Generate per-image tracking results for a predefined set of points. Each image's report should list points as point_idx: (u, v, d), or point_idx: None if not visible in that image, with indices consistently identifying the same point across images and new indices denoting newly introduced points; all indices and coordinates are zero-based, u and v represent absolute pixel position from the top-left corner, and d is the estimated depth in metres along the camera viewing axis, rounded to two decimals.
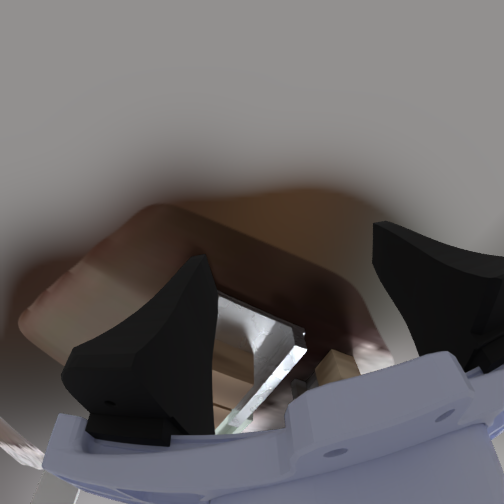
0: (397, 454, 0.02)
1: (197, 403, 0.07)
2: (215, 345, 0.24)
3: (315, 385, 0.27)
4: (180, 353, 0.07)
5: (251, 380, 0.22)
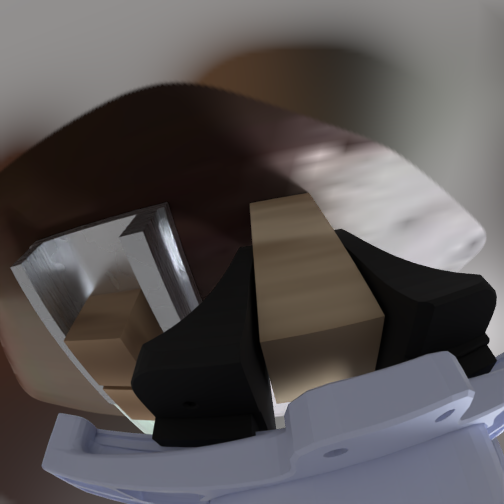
0: (397, 454, 0.02)
1: (267, 396, 0.07)
2: (85, 304, 0.15)
3: None
4: (255, 344, 0.07)
5: (118, 332, 0.12)
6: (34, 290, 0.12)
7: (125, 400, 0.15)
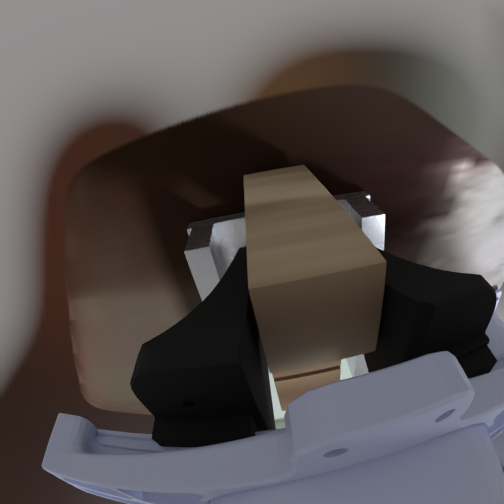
0: (397, 454, 0.02)
1: (266, 396, 0.07)
2: None
3: None
4: (255, 344, 0.07)
5: None
6: (216, 278, 0.14)
7: (293, 389, 0.16)
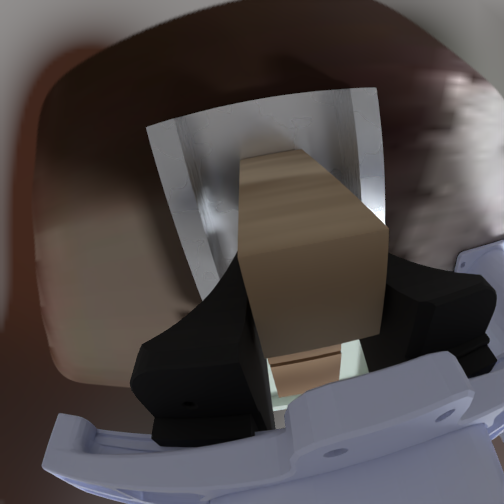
0: (397, 454, 0.02)
1: (266, 397, 0.07)
2: None
3: None
4: (254, 344, 0.07)
5: None
6: (181, 160, 0.11)
7: (291, 375, 0.15)
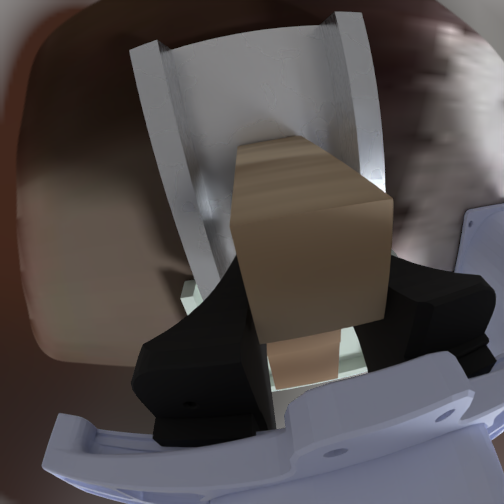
0: (397, 454, 0.02)
1: (267, 396, 0.07)
2: None
3: None
4: (255, 344, 0.07)
5: None
6: (162, 78, 0.09)
7: (288, 362, 0.15)
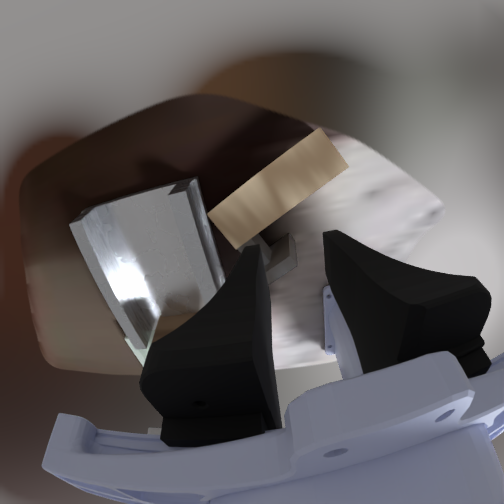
0: (397, 454, 0.02)
1: (274, 395, 0.07)
2: (158, 323, 0.24)
3: (262, 249, 0.19)
4: (263, 343, 0.07)
5: None
6: (88, 242, 0.18)
7: None
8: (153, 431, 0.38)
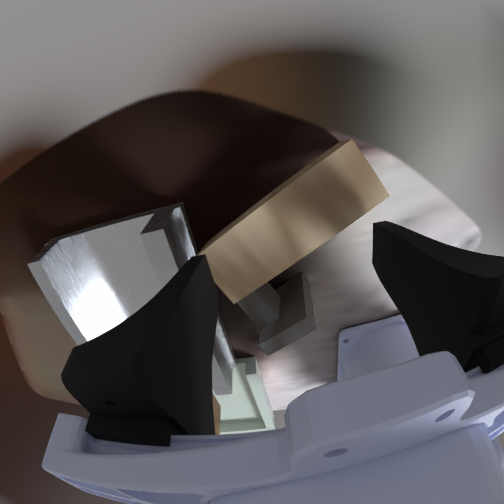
0: (397, 454, 0.02)
1: (197, 403, 0.07)
2: None
3: (268, 302, 0.15)
4: (180, 353, 0.07)
5: None
6: (51, 286, 0.14)
7: None
8: None
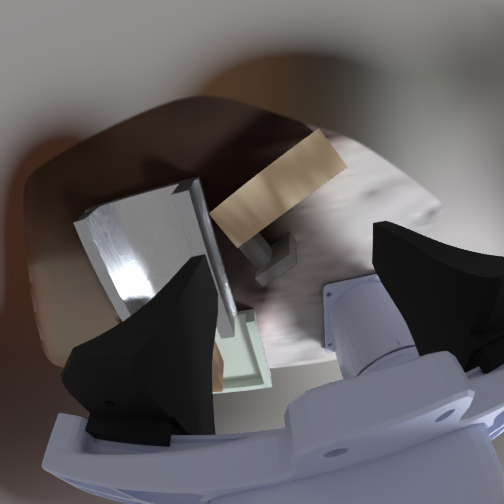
0: (397, 454, 0.02)
1: (197, 403, 0.07)
2: None
3: (263, 248, 0.20)
4: (180, 353, 0.07)
5: None
6: (92, 240, 0.19)
7: None
8: None
